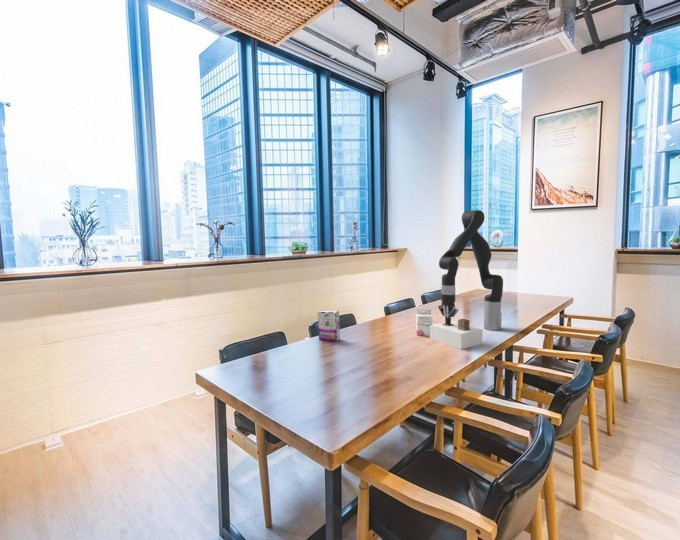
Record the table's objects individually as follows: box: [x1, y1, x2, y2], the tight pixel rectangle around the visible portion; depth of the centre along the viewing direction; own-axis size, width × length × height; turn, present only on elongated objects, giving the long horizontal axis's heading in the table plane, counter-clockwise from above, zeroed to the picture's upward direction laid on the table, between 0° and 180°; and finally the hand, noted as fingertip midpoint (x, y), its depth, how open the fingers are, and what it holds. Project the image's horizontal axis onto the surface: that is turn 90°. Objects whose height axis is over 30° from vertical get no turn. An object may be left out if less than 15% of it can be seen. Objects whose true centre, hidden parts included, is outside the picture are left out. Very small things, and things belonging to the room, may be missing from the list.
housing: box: [429, 320, 484, 350], centre depth 192 cm, size 16×22×8 cm
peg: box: [457, 318, 470, 331], centre depth 187 cm, size 4×4×7 cm
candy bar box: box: [317, 309, 341, 342], centre depth 200 cm, size 11×5×16 cm, turn 68°
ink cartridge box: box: [415, 308, 433, 337], centre depth 206 cm, size 9×5×15 cm, turn 84°
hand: (447, 323), depth 196 cm, fingers closed
